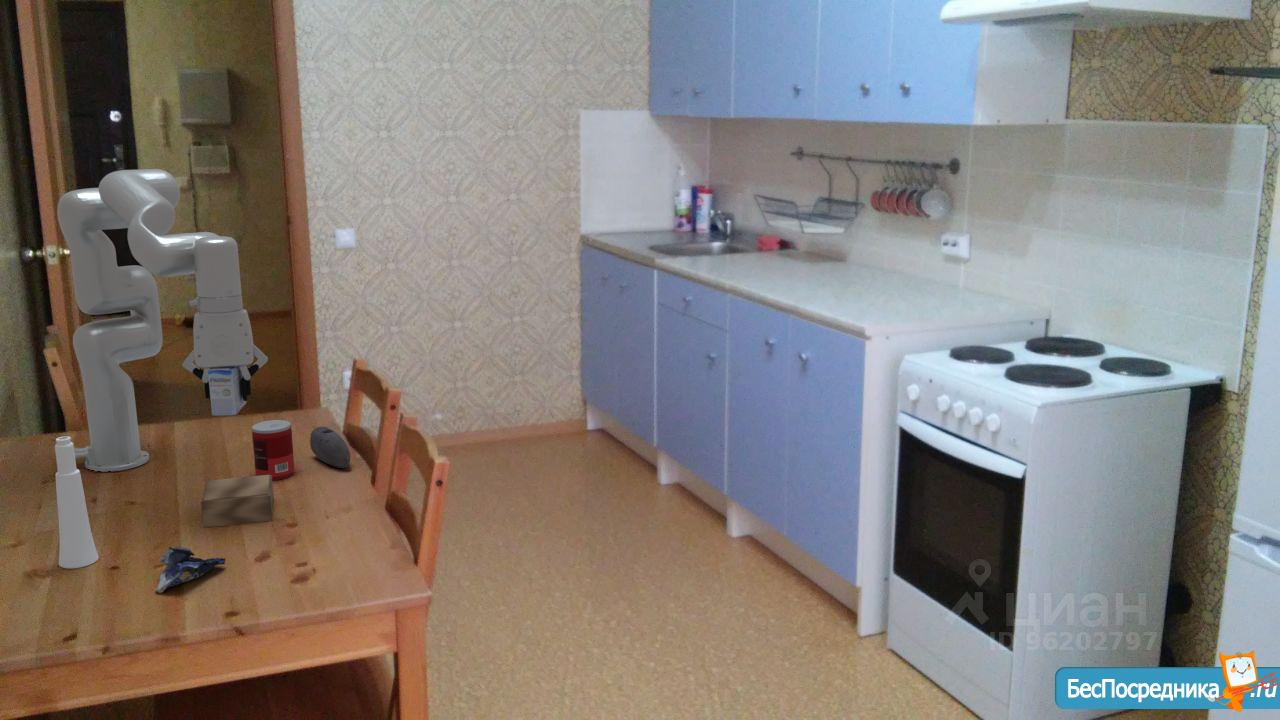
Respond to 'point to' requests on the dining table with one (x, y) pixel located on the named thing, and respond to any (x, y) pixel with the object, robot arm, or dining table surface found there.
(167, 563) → the snack package
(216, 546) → the dining table surface
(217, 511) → the block
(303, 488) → the dining table surface
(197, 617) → the dining table surface
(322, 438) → the perforated stone tool
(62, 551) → the cosmetic bottle
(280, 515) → the dining table surface
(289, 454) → the canned food
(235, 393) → the medicine box
